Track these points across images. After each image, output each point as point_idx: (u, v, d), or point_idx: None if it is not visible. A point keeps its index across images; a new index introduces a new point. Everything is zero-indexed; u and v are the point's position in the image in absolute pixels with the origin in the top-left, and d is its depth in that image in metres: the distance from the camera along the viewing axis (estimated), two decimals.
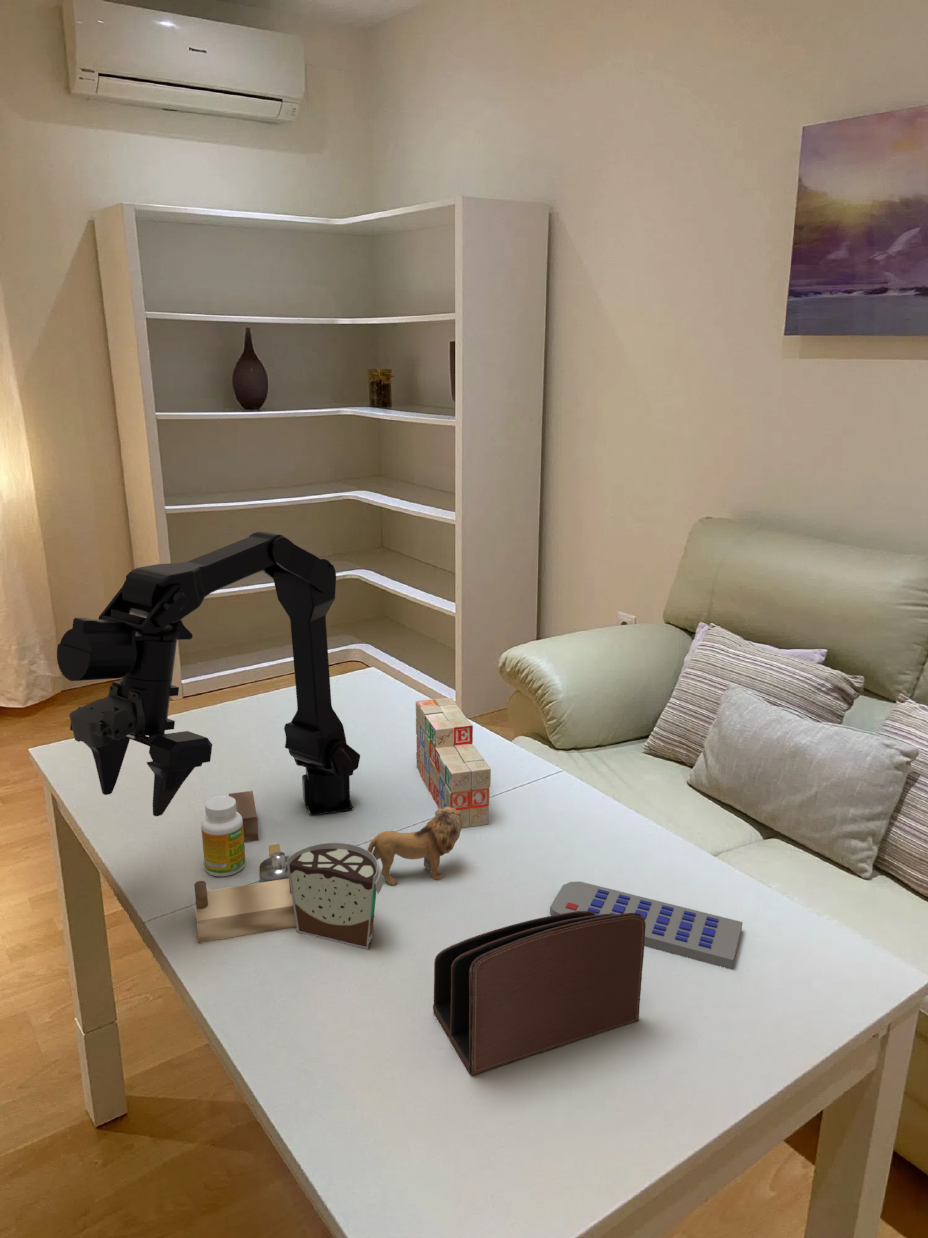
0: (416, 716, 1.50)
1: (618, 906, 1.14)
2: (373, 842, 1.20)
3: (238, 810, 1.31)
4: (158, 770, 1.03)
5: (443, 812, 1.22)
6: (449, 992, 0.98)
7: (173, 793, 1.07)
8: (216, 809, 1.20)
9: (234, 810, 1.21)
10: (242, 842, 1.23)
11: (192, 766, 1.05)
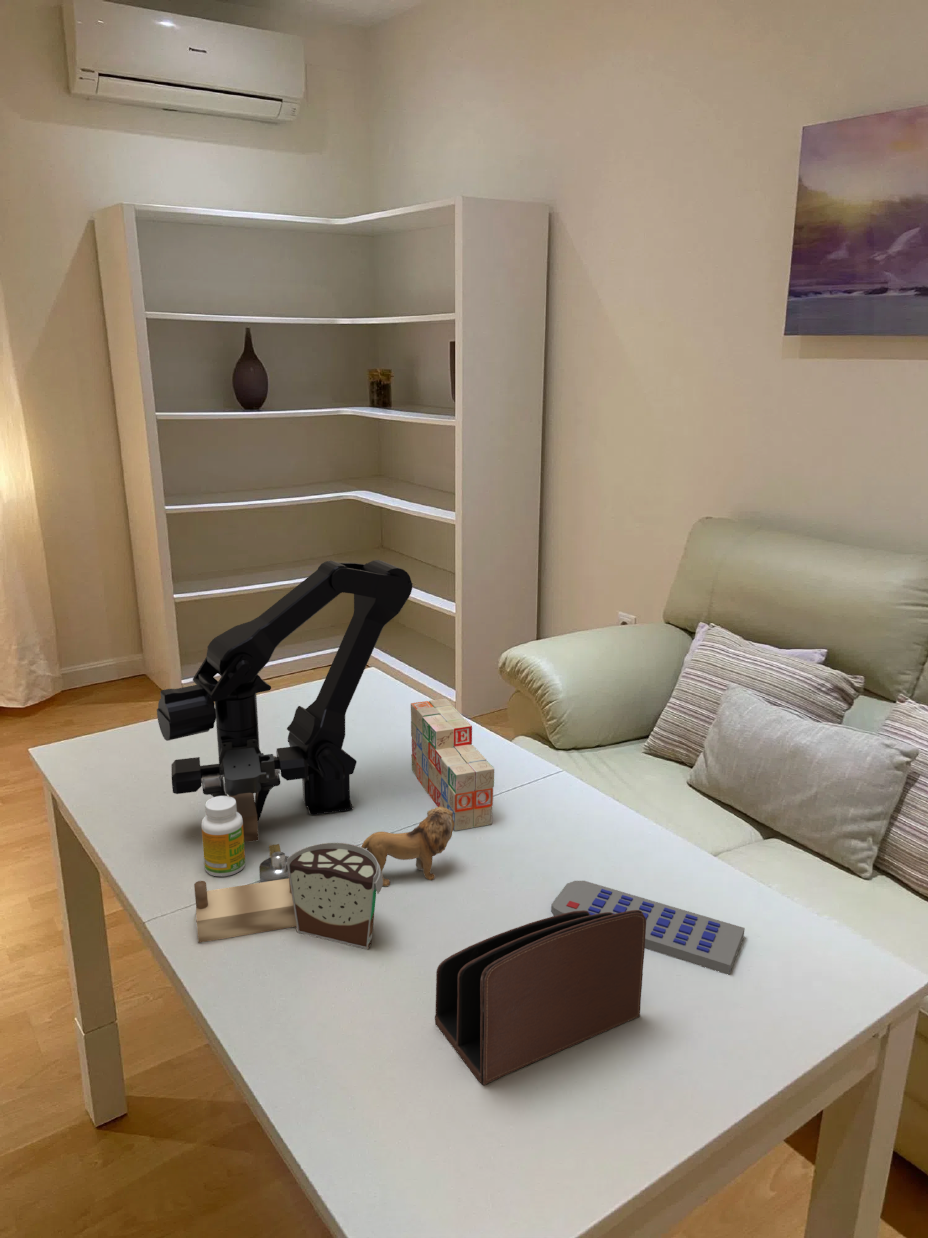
0: (411, 718, 1.50)
1: (619, 906, 1.14)
2: (365, 843, 1.20)
3: (238, 809, 1.31)
4: (271, 787, 1.31)
5: (435, 812, 1.21)
6: (451, 1002, 0.96)
7: None
8: (216, 809, 1.20)
9: (235, 810, 1.21)
10: (242, 842, 1.23)
11: None
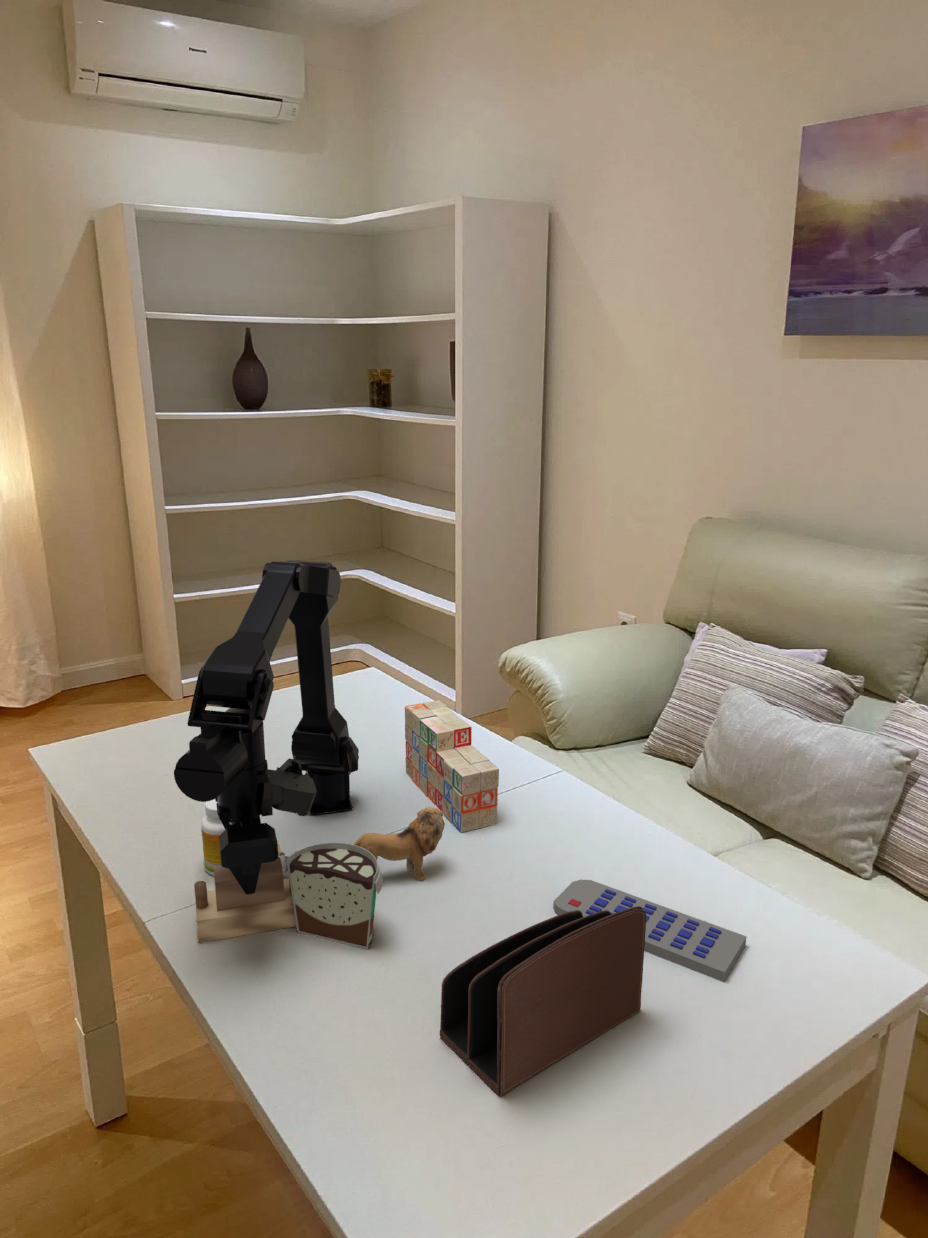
0: (405, 721, 1.48)
1: (621, 907, 1.14)
2: (356, 845, 1.20)
3: (261, 870, 1.11)
4: None
5: (425, 812, 1.21)
6: (455, 1014, 0.94)
7: None
8: (216, 809, 1.20)
9: None
10: None
11: None
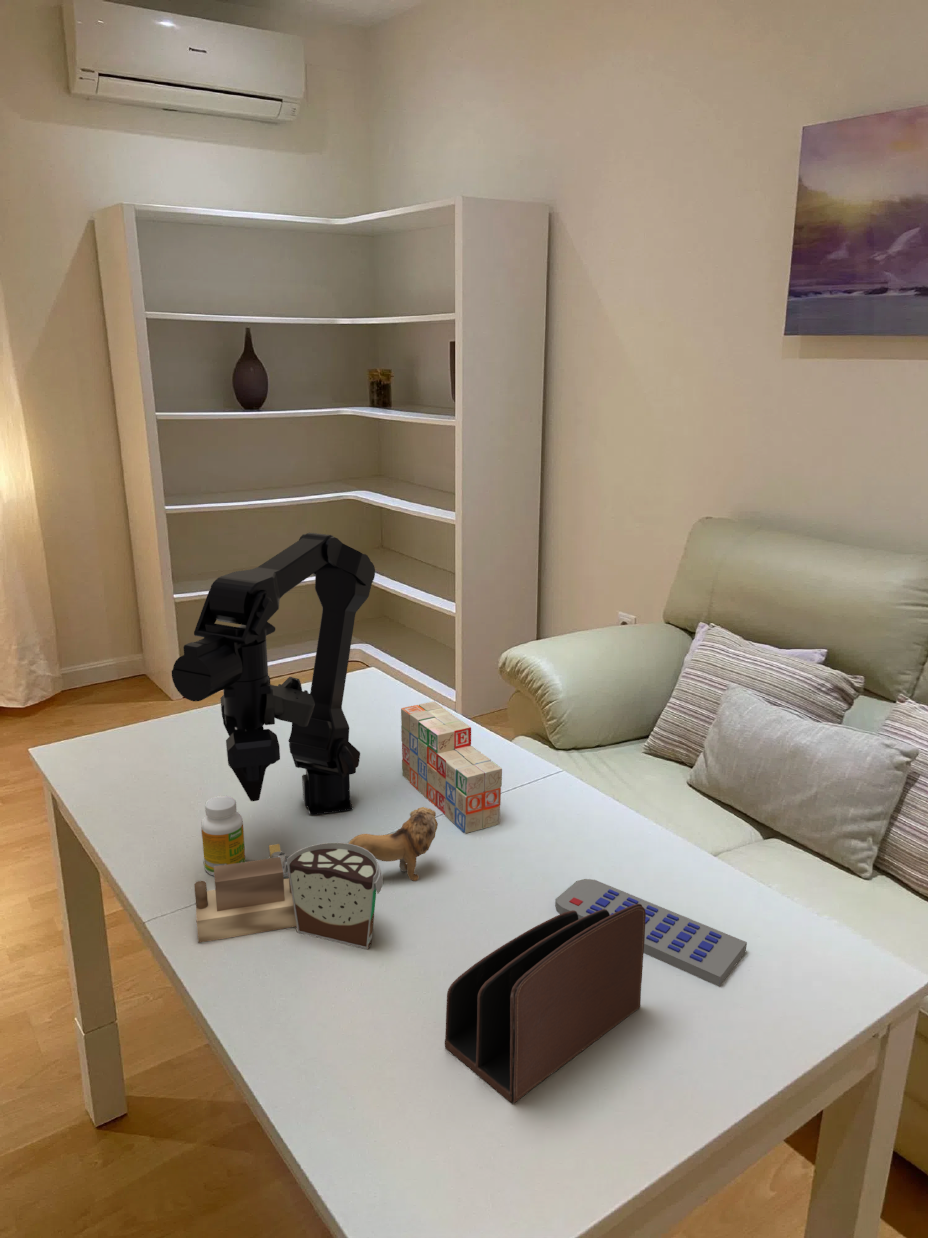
0: (402, 723, 1.48)
1: (622, 908, 1.14)
2: None
3: (261, 870, 1.11)
4: None
5: (418, 813, 1.21)
6: (460, 1023, 0.93)
7: None
8: (216, 809, 1.20)
9: (234, 810, 1.21)
10: (242, 842, 1.23)
11: None
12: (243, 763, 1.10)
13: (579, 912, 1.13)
